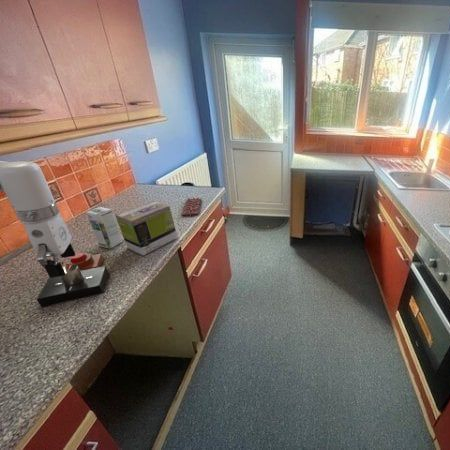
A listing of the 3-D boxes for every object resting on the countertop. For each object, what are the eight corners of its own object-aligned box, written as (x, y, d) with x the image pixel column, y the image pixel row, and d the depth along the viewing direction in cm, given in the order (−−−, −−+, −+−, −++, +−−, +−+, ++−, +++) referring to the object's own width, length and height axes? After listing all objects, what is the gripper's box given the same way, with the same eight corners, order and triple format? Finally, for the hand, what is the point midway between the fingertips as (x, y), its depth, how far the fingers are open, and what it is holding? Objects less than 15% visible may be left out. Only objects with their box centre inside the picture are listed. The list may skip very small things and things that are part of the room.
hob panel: (41, 307, 69) (36, 298, 67) (54, 284, 77) (49, 276, 75) (102, 292, 74) (99, 284, 73) (108, 273, 82) (105, 265, 81)
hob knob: (81, 283, 73) (75, 270, 71) (62, 287, 71) (55, 274, 69) (85, 274, 77) (79, 262, 74) (67, 278, 75) (60, 265, 73)
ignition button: (70, 264, 80) (68, 259, 79) (73, 257, 83) (71, 253, 82) (84, 261, 81) (82, 257, 80) (87, 255, 84) (85, 251, 83)
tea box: (162, 232, 106) (154, 200, 99) (178, 238, 102) (170, 205, 95) (126, 248, 95) (114, 213, 88) (142, 256, 91) (131, 220, 84)
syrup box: (98, 246, 95) (84, 212, 88) (112, 238, 100) (100, 206, 93) (109, 249, 94) (96, 214, 87) (123, 241, 99) (112, 208, 92)
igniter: (60, 279, 79) (54, 269, 77) (68, 265, 85) (63, 255, 83) (98, 271, 83) (94, 262, 81) (103, 258, 89) (99, 249, 87)
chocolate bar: (182, 216, 120) (181, 212, 119) (187, 201, 136) (186, 198, 135) (198, 215, 121) (197, 211, 121) (201, 200, 138) (200, 197, 137)
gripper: (44, 224, 58) (71, 281, 66) (67, 197, 71) (87, 247, 79) (0, 229, 55) (33, 288, 63) (32, 200, 68) (56, 252, 76)
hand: (63, 265), depth 71 cm, fingers open, 9 cm apart
